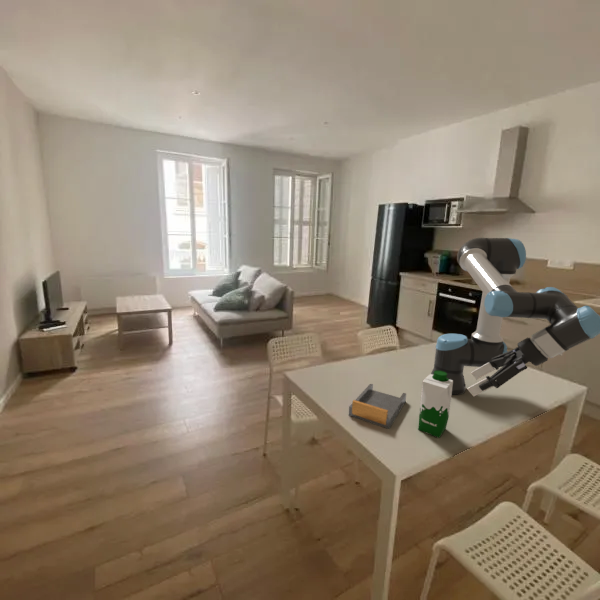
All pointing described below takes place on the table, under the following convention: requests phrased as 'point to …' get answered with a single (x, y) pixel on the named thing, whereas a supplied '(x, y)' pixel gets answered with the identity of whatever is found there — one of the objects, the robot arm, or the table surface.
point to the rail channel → (377, 407)
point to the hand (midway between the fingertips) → (472, 383)
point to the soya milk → (435, 403)
